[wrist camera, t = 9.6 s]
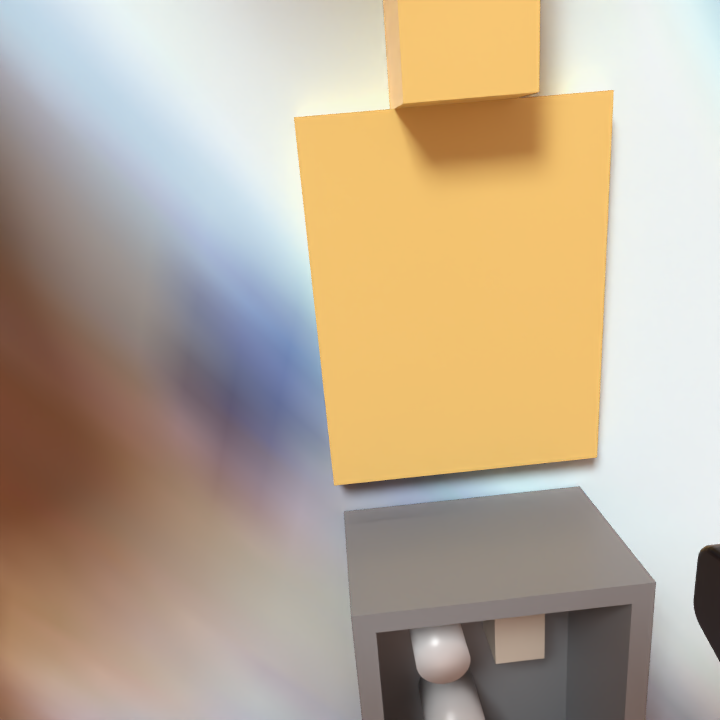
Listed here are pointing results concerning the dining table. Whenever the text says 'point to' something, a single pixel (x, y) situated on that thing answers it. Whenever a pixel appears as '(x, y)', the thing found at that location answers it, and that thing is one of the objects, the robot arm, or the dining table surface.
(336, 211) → the lid
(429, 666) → the tub
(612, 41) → the dining table surface
